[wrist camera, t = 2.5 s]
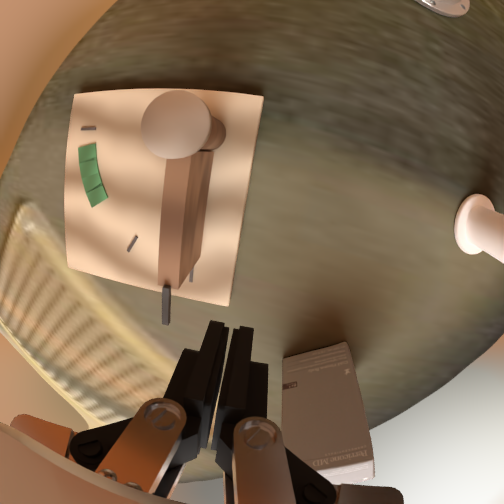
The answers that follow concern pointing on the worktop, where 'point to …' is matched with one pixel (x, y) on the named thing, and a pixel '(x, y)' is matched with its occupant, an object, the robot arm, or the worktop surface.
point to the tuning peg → (181, 180)
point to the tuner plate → (151, 191)
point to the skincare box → (326, 415)
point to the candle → (479, 227)
